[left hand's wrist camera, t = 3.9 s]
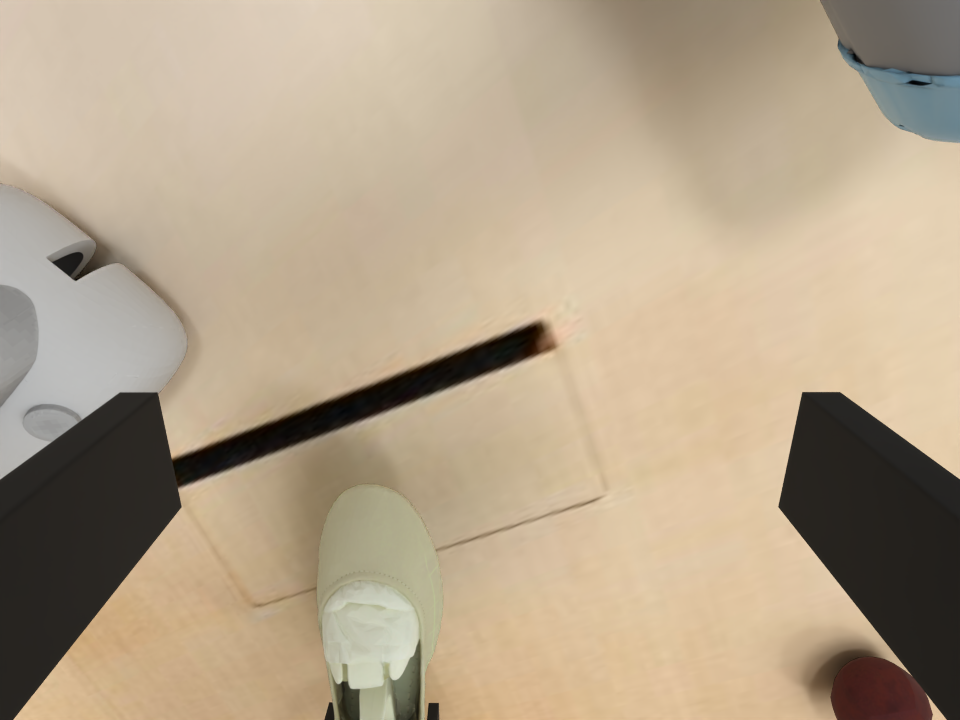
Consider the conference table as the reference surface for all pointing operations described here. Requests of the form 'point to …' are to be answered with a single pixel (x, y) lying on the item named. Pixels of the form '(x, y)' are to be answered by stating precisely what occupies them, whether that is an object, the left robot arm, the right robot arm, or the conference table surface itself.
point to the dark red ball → (878, 692)
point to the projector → (69, 329)
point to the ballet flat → (377, 604)
